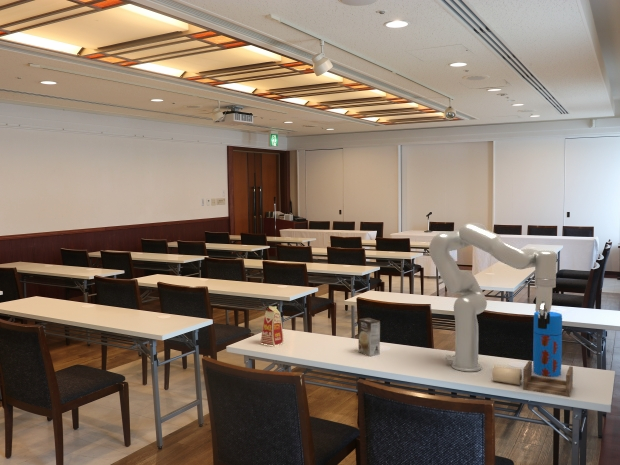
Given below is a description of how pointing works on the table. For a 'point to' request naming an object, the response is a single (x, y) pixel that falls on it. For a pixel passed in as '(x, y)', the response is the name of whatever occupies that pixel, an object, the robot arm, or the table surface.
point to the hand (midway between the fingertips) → (543, 326)
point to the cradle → (547, 382)
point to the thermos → (548, 346)
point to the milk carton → (272, 327)
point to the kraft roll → (507, 375)
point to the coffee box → (369, 336)
